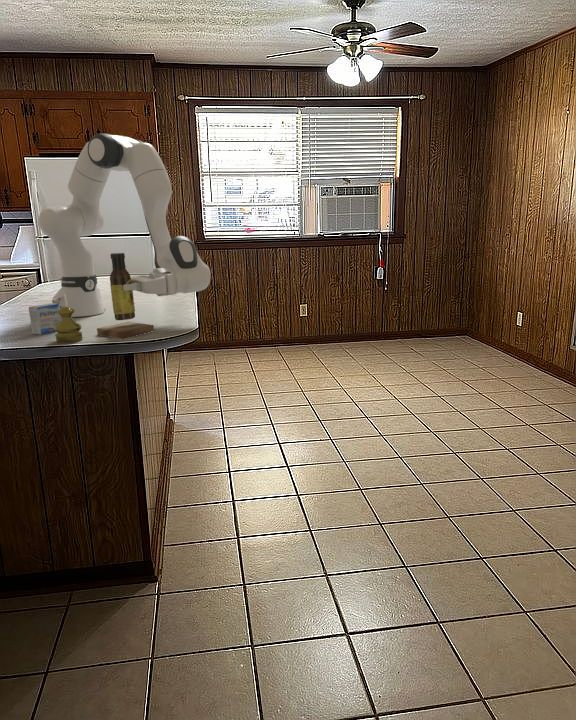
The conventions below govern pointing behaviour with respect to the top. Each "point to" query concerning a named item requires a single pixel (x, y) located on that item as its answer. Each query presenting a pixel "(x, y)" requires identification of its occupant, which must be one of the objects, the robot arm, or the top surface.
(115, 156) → the robot arm
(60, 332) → the gold stacked ornament
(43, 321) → the medicine box
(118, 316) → the sauce bottle
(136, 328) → the walnut tray
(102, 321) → the top surface
